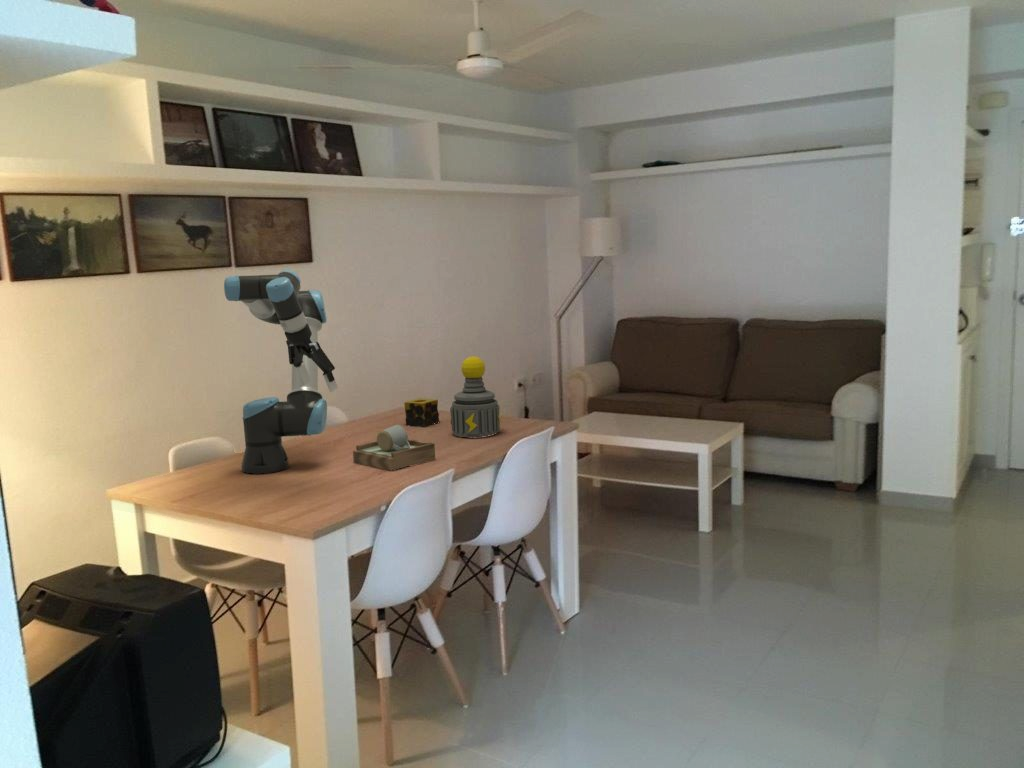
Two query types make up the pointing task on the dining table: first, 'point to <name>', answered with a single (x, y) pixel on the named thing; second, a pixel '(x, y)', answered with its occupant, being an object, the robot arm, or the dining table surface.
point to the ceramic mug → (393, 439)
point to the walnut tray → (394, 455)
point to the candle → (421, 412)
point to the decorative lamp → (474, 404)
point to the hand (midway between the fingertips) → (320, 386)
